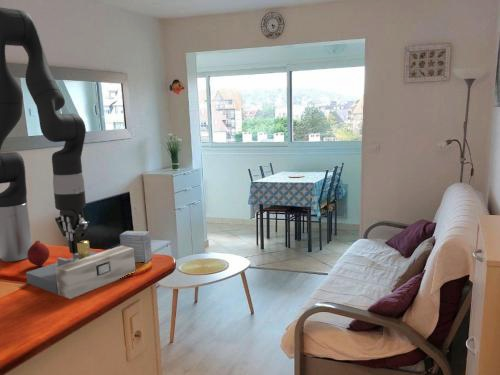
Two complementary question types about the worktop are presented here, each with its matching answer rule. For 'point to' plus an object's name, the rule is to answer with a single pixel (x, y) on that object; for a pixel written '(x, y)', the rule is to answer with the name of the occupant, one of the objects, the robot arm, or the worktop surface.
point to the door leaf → (49, 274)
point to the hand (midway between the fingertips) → (75, 252)
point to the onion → (38, 253)
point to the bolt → (85, 252)
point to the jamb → (94, 271)
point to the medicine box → (138, 244)
